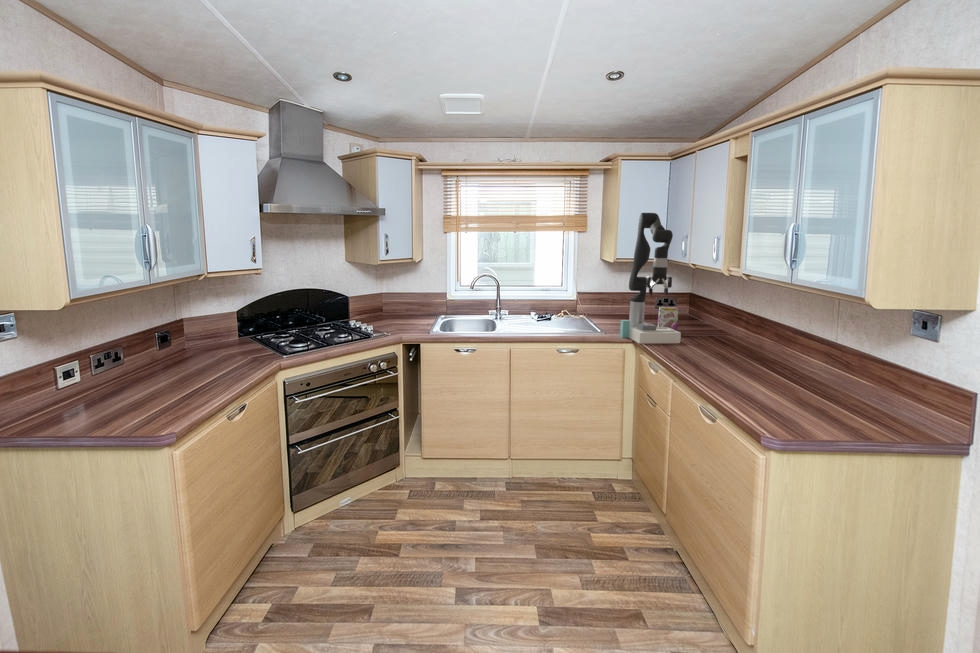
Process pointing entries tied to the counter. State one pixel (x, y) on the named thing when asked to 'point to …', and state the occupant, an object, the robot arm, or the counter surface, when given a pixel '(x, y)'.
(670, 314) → the candy bar box
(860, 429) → the counter surface
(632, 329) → the white tray
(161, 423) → the counter surface
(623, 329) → the plug
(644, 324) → the shutter
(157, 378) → the counter surface
